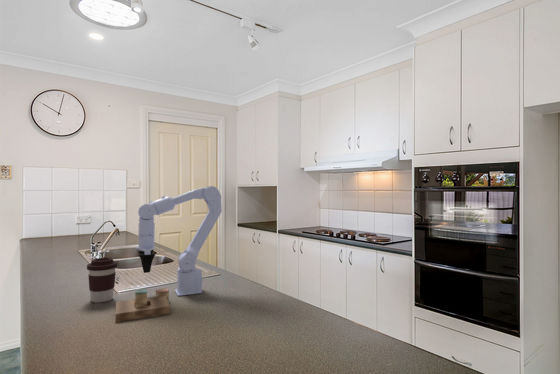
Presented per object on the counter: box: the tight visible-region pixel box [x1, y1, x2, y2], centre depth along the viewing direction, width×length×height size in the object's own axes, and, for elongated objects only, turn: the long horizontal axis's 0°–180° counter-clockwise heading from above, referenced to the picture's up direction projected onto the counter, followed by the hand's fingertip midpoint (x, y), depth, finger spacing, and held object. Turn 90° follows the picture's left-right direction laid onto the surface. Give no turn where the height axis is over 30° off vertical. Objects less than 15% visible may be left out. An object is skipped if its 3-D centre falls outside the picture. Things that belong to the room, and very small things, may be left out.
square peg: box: [134, 288, 148, 308], centre depth 109 cm, size 4×4×7 cm
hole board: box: [115, 296, 171, 323], centre depth 109 cm, size 16×12×2 cm
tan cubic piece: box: [155, 287, 170, 303], centre depth 120 cm, size 4×4×4 cm
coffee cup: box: [86, 257, 118, 304], centre depth 121 cm, size 10×10×15 cm
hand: (146, 270), depth 126 cm, fingers open, 7 cm apart
